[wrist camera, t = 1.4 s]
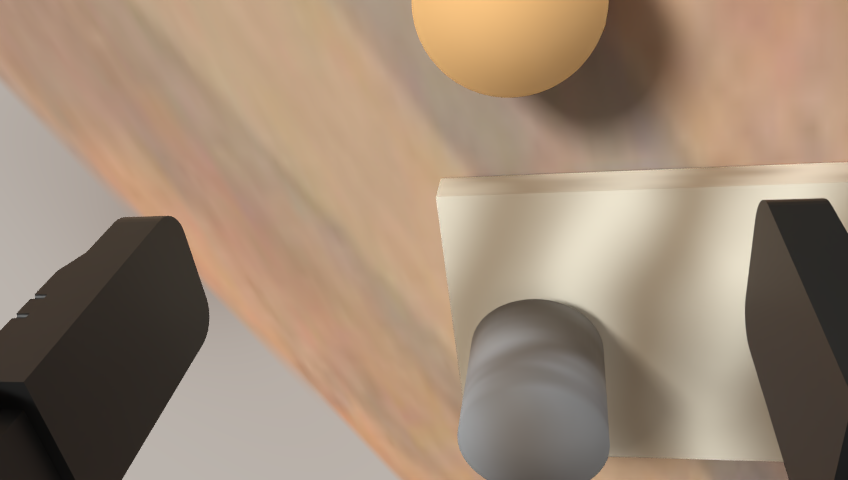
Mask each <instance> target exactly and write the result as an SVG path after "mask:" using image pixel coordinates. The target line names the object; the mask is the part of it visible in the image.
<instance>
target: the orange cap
mask: <svg viewBox="0 0 848 480" xmlns="http://www.w3.org/2000/svg"><path fill="white" fill-rule="evenodd" d="M608 4H609V0H412V14H413V19H414V24H415V28H416V31H417V34H418V37H419V39H420V41H421V43H422V45H423V47H424V49H425V51H426V52H427V54H428V55H429V57H430V58H431V60H432V61H433V62H434V63H435V64H436V65H437V67H438V68H439V69H440V70H441V71H442V72H444V73H445V74H446V75H447V76H448V77H449V78H451V79H452V80H454V81H455V82H456V83H458V84H460V85H462V86H464V87H465V88H467V89H470V90H472V91H475V92H477V93H481V94H485V95H489V96H495V97H523V96H529V95H533V94H537V93H540V92H542V91H545V90H548V89H550V88H552V87H554V86H556V85H558V84H559V83H561V82H563V81H564V80H565V79H567V78H568V77H570V76H571V75H572V74H573V73H574V72H576V71H577V70H578V69H579V68H580V67H581V66H582V65H583V63H584V62H585V61H586V60H587V59H588V58H589V56H590V55H591V53H592V52H593V50H594V49H595V47H596V45H597V43H598V41H599V39H600V37H601V35H602V32H603V31H604V26H606V18H607V13H608Z"/></svg>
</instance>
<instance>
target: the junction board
mask: <svg viewBox="0 0 848 480" xmlns="http://www.w3.org/2000/svg"><path fill="white" fill-rule="evenodd" d="M811 198H825V199H827V200H829V202H830V203H831V205H832V206H833V208H834V210H835V212H836V213H837V215H838V217H839V219H840V220H841V222H842V224H843V226H844V227H845V229H846V231H847V233H848V162H834V163H809V164H784V165H760V166H735V167H710V168H685V169H660V170H635V171H610V172H586V173H561V174H536V175H511V176H486V177H461V178H441V181H440V184H439V188H438V191H437V195H436V201H437V209H438V216H439V224H440V231H441V239H442V246H443V254H444V261H445V269H446V276H447V284H448V291H449V299H450V306H451V314H452V321H453V329H454V336H455V344H456V351H457V359H458V366H459V373H460V381H461V388H462V396H463V401H462V408H461V414H460V421H459V427H458V444H459V448H460V451H461V453H462V455H463V457H464V459H465V460H466V462H467V463H468V464H469V465H470V466H471V468H472V469H474V470H475V471H476V472H477V473H478V474H479V475H481V476H482V477H483V478H485V479H487V480H590V479H592V478H593V477H594V476H595V475H597V474H598V473H599V472H600V470H601V469H602V468H603V466H604V465H605V463H606V461H607V458H608V457H639V458H672V459H706V460H739V461H773V462H784V461H783V458H782V455H781V451H780V448H779V445H778V442H777V438H776V435H775V432H774V428H773V425H772V422H771V419H770V415H769V412H768V409H767V405H766V402H765V399H764V396H763V392H762V389H761V386H760V382H759V379H758V376H757V372H756V369H755V366H754V363H753V359H752V356H751V353H750V349H749V346H748V341H747V335H746V327H745V299H746V290H747V282H748V274H749V265H750V257H751V249H752V241H753V233H754V225H755V217H756V212H757V208H758V205H759V203H760V202H761V201H762V200H777V199H811Z"/></svg>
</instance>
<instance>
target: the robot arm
mask: <svg viewBox="0 0 848 480" xmlns="http://www.w3.org/2000/svg"><path fill="white" fill-rule="evenodd" d="M208 326H209V308H208V302H207V298H206V296H205V292H204V290H203V287H202V284H201V281H200V278H199V275H198V272H197V269H196V266H195V263H194V260H193V257H192V254H191V251H190V248H189V245H188V242H187V239H186V236H185V233H184V231H183V228H182V226H181V224H180V223H179V222H178V220H176V219H175V218H174V217H172V216H151V217H123V218H120V219H118V220H117V221H116V222H114V223H113V225H112V226H111V227H110V228H109V229H108V230H107V231H106V232H105V233H104V234H103V235H102V236H101V237H100V238H99V240H98V241H97V242H96V243H95V244H94V245H93V246H92V247H91V248H90V249H89V250H88V251H87V252H86V253H85V254H83V255H82V256H80V257H78V258H77V259H75V260H74V261H72V262H71V263H69V264H68V265H66V266H64V267H63V268H61V269H60V270H58V271H57V272H56V273H55V274H54V275H53V276H52V277H51V278H50V279H49V280H48V281H47V283H46V284H44V285H43V286H42V287H41V289H40V290H39V291H38V292H37V293H36V294H35V299H30V300H29V301H28V302H27V303H26V304H25V305H24V306H23V307H22V308H21V309H20V311H19V312H18V313H17V318H14V319H11V320H10V321H9V322H8V323H7V324H6V325H5V326H4V327H3V328H2V330H0V480H122V478H123V477H124V475H125V473H126V472H127V470H128V468H129V466H130V465H131V463H132V462H133V460H134V458H135V456H136V455H137V453H138V451H139V450H140V448H141V446H142V445H143V443H144V442H145V440H146V438H147V437H148V435H149V433H150V431H151V430H152V428H153V427H154V425H155V423H156V422H157V420H158V418H159V417H160V415H161V413H162V411H163V410H164V408H165V406H166V405H167V403H168V401H169V400H170V398H171V396H172V395H173V393H174V391H175V390H176V388H177V386H178V385H179V383H180V381H181V380H182V378H183V376H184V375H185V373H186V371H187V370H188V368H189V366H190V364H191V363H192V361H193V360H194V358H195V356H196V354H197V353H198V351H199V350H200V348H201V346H202V345H203V343H204V341H205V338H206V335H207V332H208ZM745 327H746V335H747V341H748V346H749V349H750V353H751V356H752V359H753V363H754V366H755V369H756V372H757V376H758V379H759V382H760V386H761V389H762V392H763V396H764V399H765V402H766V405H767V409H768V412H769V415H770V419H771V422H772V425H773V428H774V432H775V435H776V438H777V442H778V445H779V448H780V451H781V455H782V458H783V461H784V465H785V468H786V471H787V474H788V478H789V480H848V233H847V231H846V229H845V227H844V226H843V224H842V222H841V220H840V219H839V217H838V215H837V213H836V212H835V210H834V208H833V206H832V205H831V203H830V202H829V200H827V199H825V198H811V199H777V200H762V201H761V202H760V203H759V205H758V208H757V212H756V217H755V225H754V233H753V241H752V249H751V257H750V265H749V274H748V282H747V290H746V299H745Z"/></svg>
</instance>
